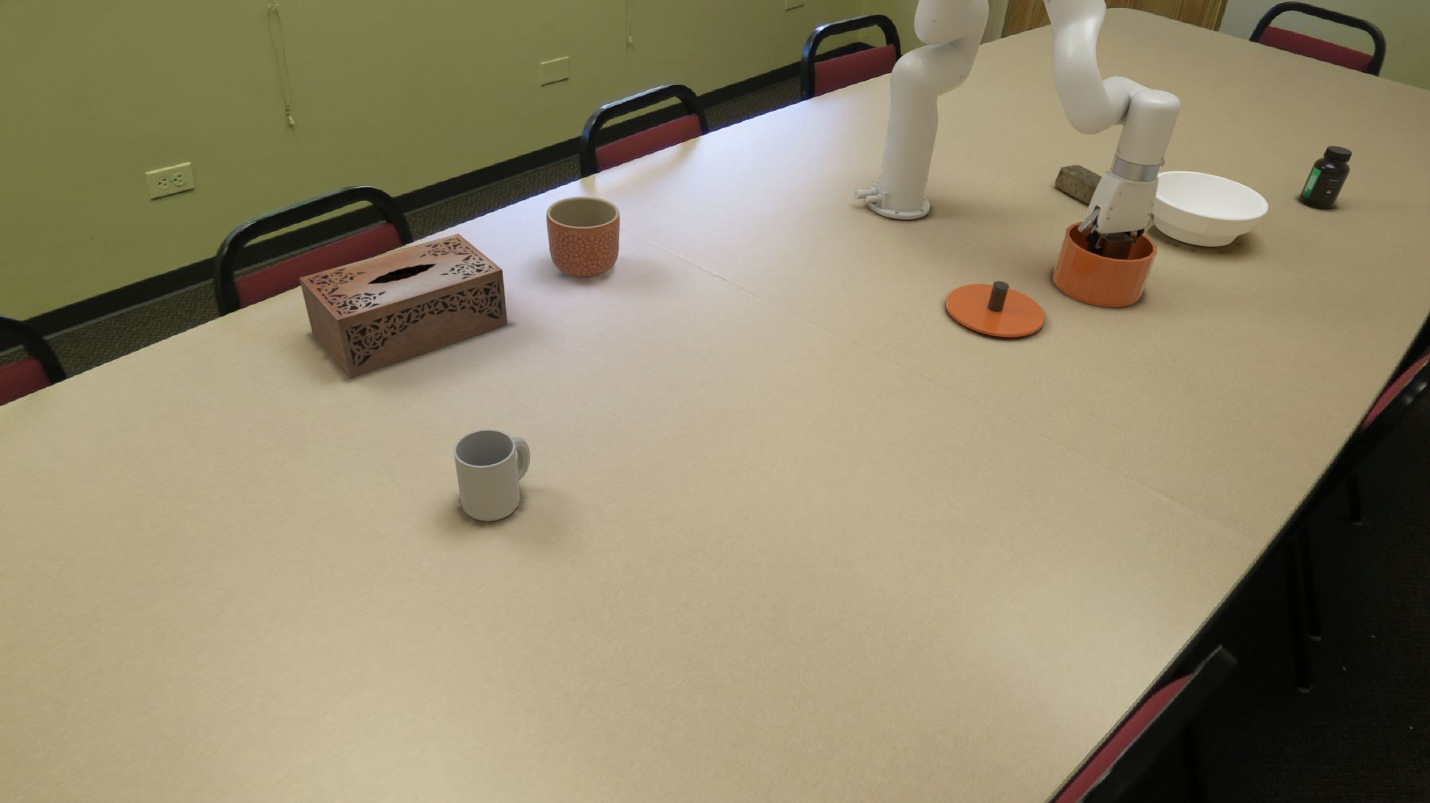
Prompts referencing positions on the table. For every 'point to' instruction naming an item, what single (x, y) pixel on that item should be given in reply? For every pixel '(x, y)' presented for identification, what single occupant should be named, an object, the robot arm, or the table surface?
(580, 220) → the planter
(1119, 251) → the metal block
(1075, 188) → the stone block
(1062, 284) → the pan
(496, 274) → the tissue box cover
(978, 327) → the pan lid
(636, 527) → the table surface
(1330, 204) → the supplement bottle
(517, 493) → the cup
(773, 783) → the table surface
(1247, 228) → the bowl
